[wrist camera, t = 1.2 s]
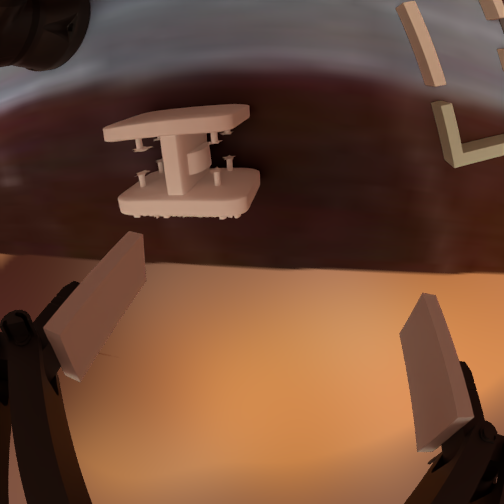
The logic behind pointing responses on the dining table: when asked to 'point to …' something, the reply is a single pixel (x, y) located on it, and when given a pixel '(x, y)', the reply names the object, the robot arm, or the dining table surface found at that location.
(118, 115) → the dining table surface
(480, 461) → the robot arm
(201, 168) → the cable organizer
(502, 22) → the mat
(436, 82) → the channel
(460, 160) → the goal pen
